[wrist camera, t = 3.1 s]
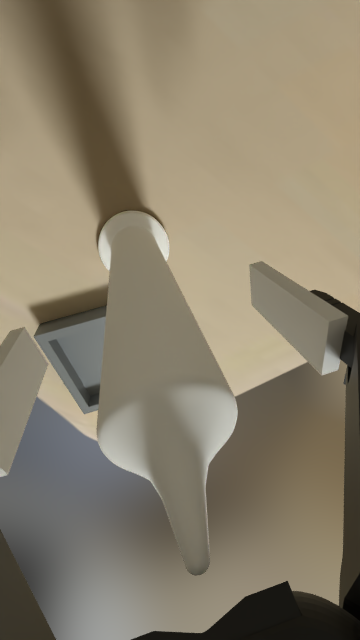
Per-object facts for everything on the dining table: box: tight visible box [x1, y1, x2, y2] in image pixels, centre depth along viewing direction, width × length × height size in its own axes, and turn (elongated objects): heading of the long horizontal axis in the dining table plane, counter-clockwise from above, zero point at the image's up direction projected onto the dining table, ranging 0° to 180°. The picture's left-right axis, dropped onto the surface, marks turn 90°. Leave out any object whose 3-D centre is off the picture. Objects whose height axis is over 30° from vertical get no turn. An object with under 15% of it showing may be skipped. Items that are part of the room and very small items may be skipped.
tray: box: [34, 306, 107, 414], centre depth 31 cm, size 13×13×2 cm
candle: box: [97, 211, 238, 575], centre depth 16 cm, size 7×7×25 cm
